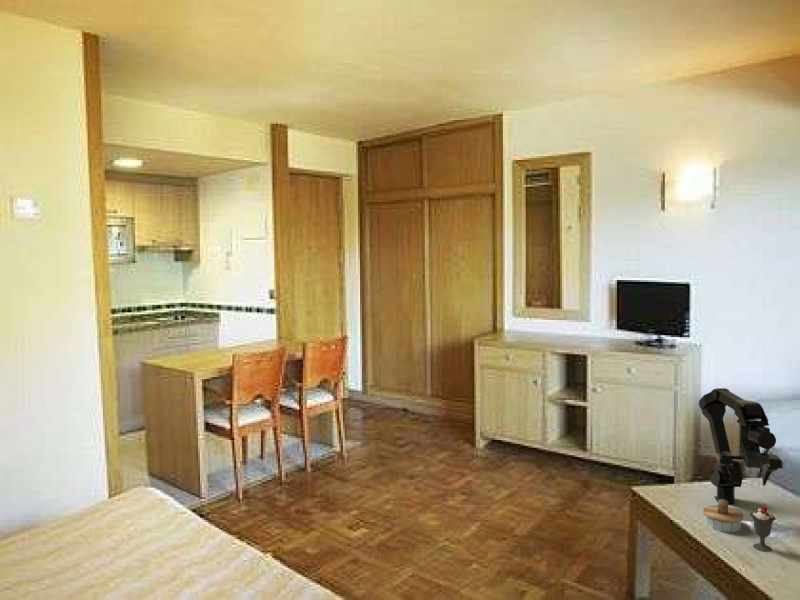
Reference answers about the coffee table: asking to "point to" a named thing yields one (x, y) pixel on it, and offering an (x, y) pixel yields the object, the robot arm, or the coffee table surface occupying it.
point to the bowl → (723, 525)
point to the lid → (723, 512)
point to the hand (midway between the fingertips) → (748, 483)
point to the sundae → (762, 526)
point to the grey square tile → (746, 514)
